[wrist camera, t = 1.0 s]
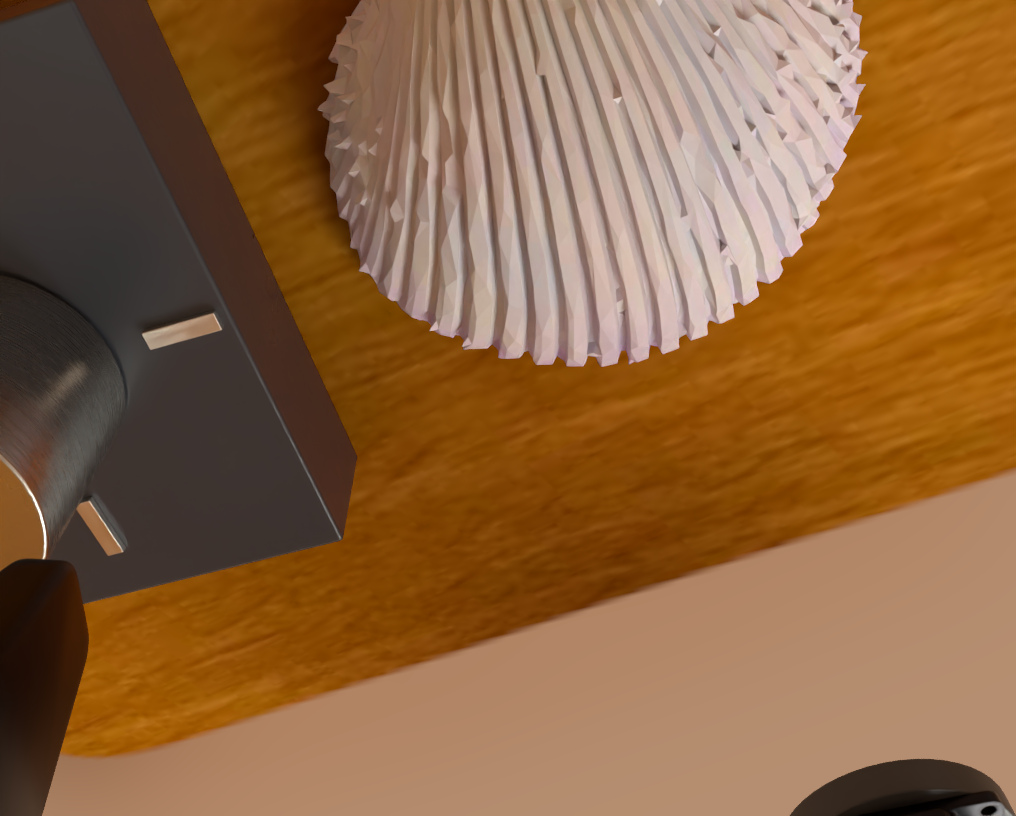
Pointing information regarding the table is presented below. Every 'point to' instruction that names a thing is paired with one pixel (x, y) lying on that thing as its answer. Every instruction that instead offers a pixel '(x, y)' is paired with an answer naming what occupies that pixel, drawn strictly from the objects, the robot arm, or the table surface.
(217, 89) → the table surface
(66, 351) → the valve knob
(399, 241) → the seashell
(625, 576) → the table surface
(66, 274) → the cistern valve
